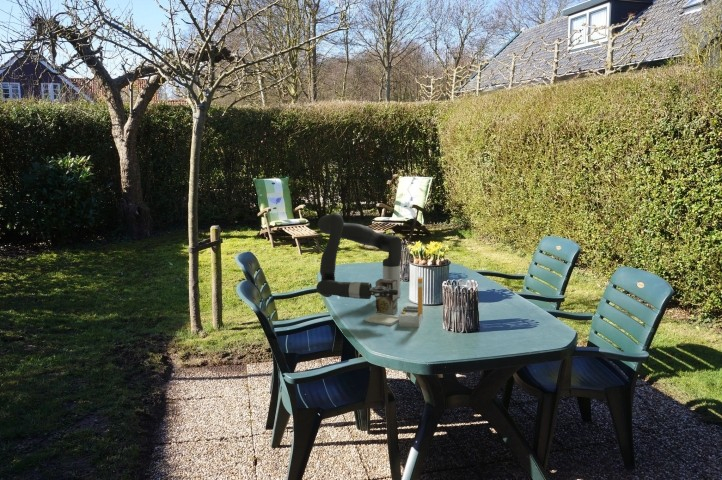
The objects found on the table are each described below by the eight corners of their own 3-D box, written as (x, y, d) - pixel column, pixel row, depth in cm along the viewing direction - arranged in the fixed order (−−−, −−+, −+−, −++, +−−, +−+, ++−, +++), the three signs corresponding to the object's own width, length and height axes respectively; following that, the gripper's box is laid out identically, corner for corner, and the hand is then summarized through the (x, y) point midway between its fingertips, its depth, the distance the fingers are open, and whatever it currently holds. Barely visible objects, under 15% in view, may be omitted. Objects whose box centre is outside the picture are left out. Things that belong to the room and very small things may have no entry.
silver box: (403, 317, 265) (403, 305, 264) (422, 318, 263) (422, 306, 262) (398, 326, 252) (398, 313, 251) (419, 327, 250) (419, 314, 249)
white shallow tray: (377, 315, 269) (377, 312, 269) (402, 319, 262) (402, 317, 261) (365, 321, 260) (365, 318, 260) (391, 325, 253) (391, 323, 253)
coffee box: (398, 312, 274) (397, 279, 271) (393, 315, 268) (393, 282, 265) (380, 310, 277) (380, 278, 275) (375, 313, 272) (375, 281, 269)
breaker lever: (418, 312, 255) (418, 277, 252) (422, 312, 254) (422, 277, 252) (417, 314, 252) (417, 279, 249) (421, 314, 251) (422, 279, 249)
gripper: (356, 285, 251) (395, 287, 247) (363, 279, 263) (400, 281, 259) (356, 302, 252) (395, 304, 248) (363, 294, 264) (400, 296, 260)
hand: (397, 292), depth 254 cm, fingers closed
